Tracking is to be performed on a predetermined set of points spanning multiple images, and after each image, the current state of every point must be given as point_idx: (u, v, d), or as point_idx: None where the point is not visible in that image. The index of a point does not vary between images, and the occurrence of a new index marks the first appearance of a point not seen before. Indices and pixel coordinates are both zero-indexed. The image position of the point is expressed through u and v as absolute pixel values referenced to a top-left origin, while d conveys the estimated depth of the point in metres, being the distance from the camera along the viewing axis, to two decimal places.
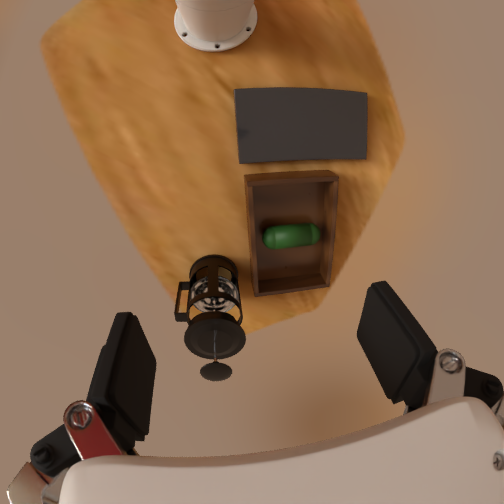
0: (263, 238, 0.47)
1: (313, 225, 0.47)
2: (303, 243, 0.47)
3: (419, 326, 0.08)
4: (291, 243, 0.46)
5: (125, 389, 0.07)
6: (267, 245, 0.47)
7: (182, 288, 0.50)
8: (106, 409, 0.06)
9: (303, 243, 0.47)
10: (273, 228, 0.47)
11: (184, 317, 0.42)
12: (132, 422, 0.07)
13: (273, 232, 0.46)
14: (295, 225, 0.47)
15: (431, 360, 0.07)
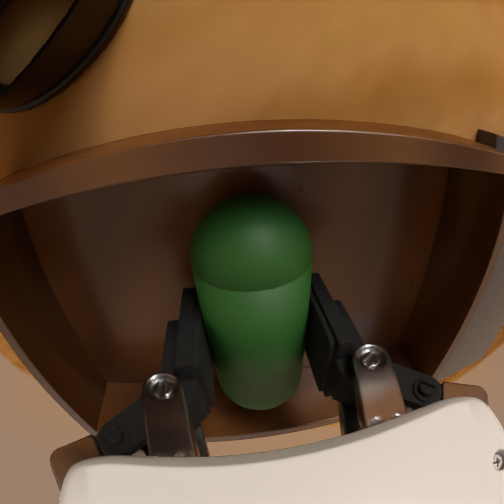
0: (263, 206, 0.08)
1: None
2: (246, 386, 0.10)
3: (341, 317, 0.08)
4: (250, 354, 0.09)
5: (202, 358, 0.08)
6: (229, 238, 0.07)
7: None
8: (186, 378, 0.07)
9: (249, 386, 0.10)
10: None
11: None
12: (206, 392, 0.08)
13: (308, 261, 0.08)
14: None
15: None
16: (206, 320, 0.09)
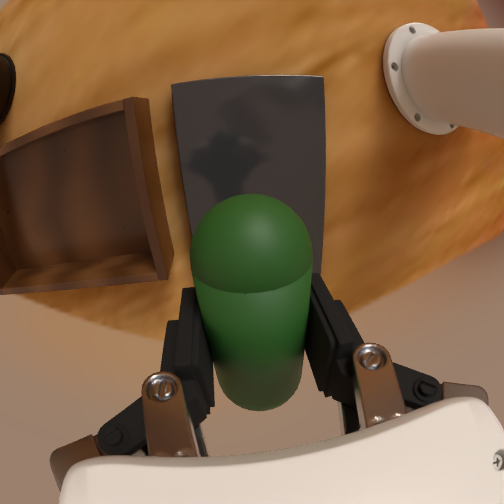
0: (263, 207, 0.08)
1: None
2: (246, 387, 0.10)
3: (341, 317, 0.08)
4: (250, 356, 0.09)
5: (202, 358, 0.08)
6: (229, 240, 0.07)
7: None
8: (186, 378, 0.07)
9: (249, 387, 0.10)
10: None
11: None
12: (206, 392, 0.08)
13: (308, 262, 0.08)
14: None
15: None
16: (206, 321, 0.09)
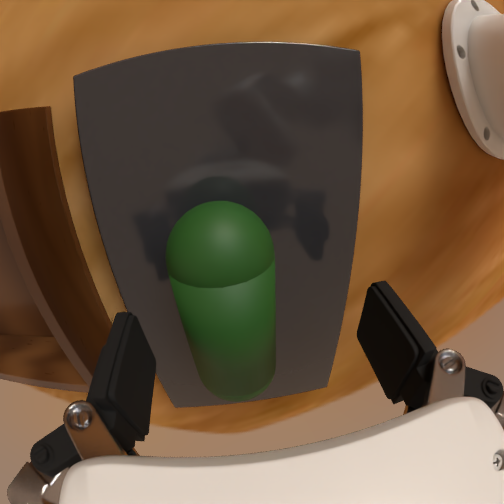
0: (221, 214, 0.09)
1: (272, 378, 0.13)
2: (211, 374, 0.11)
3: (419, 326, 0.08)
4: (209, 345, 0.10)
5: (125, 389, 0.07)
6: (187, 240, 0.08)
7: None
8: (106, 409, 0.06)
9: (214, 375, 0.11)
10: None
11: None
12: (132, 422, 0.07)
13: (261, 267, 0.09)
14: (275, 332, 0.12)
15: (431, 360, 0.07)
16: None
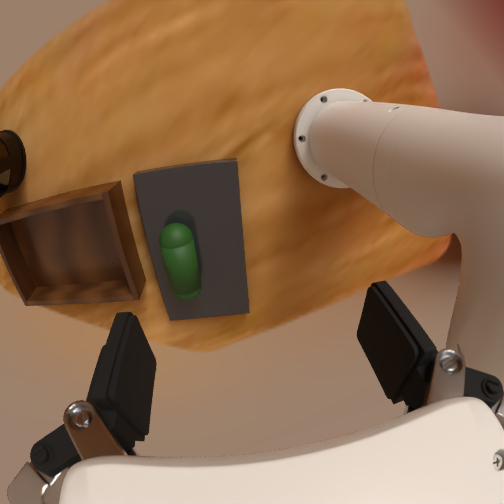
0: (171, 228, 0.29)
1: (193, 296, 0.33)
2: None
3: (419, 326, 0.08)
4: (165, 266, 0.31)
5: (125, 389, 0.07)
6: (161, 233, 0.30)
7: None
8: (106, 409, 0.06)
9: (169, 280, 0.32)
10: (185, 245, 0.30)
11: None
12: (132, 422, 0.07)
13: (176, 246, 0.29)
14: (191, 274, 0.32)
15: (431, 360, 0.07)
16: None
